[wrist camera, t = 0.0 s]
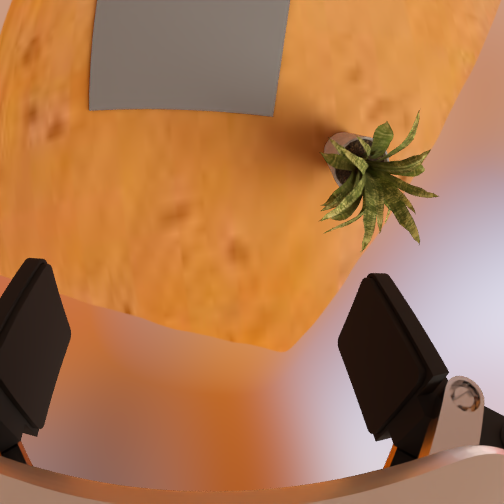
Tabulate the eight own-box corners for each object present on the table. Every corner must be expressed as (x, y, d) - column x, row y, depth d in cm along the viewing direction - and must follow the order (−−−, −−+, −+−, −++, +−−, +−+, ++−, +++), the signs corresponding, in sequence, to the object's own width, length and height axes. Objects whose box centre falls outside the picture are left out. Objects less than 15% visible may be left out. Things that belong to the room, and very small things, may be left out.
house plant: (287, 84, 34) (336, 100, 20) (391, 93, 35) (475, 121, 21) (284, 194, 41) (320, 268, 28) (379, 192, 43) (443, 257, 29)
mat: (103, -27, 23) (102, -28, 22) (292, -22, 26) (293, -23, 26) (90, 110, 32) (89, 110, 32) (272, 116, 36) (272, 116, 35)
